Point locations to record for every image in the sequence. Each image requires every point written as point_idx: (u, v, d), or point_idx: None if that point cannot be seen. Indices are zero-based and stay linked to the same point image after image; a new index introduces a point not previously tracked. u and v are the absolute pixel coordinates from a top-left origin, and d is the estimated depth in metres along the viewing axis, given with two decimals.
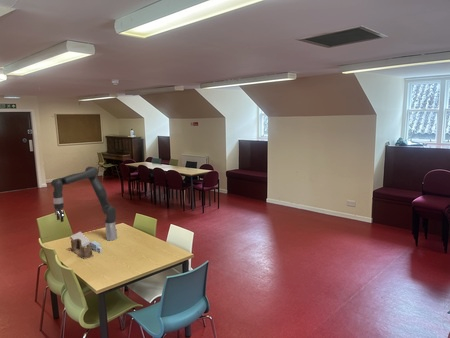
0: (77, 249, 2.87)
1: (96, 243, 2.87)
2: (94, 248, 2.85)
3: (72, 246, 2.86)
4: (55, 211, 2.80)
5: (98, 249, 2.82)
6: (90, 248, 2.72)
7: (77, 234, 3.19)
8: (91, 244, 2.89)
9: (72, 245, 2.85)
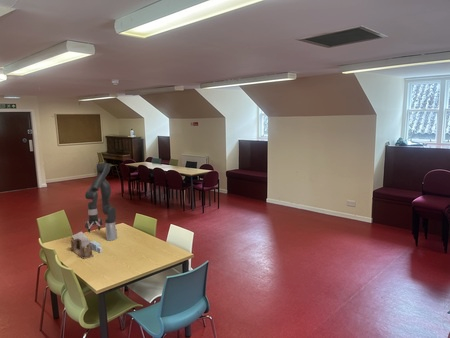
0: (77, 249, 2.87)
1: (96, 243, 2.87)
2: (94, 248, 2.85)
3: (72, 246, 2.86)
4: (87, 225, 2.80)
5: (98, 249, 2.82)
6: (90, 248, 2.72)
7: (78, 234, 3.19)
8: (91, 244, 2.89)
9: (72, 245, 2.85)
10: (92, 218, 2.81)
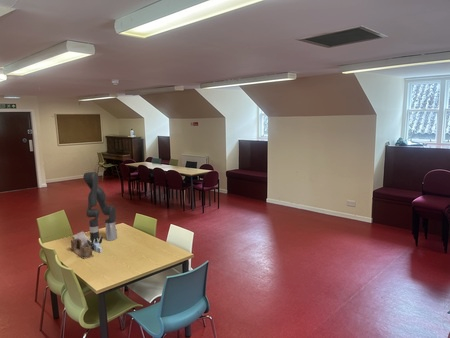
0: (77, 249, 2.87)
1: (96, 243, 2.87)
2: (94, 248, 2.85)
3: (72, 246, 2.86)
4: (90, 243, 2.83)
5: (98, 249, 2.82)
6: (90, 248, 2.72)
7: (79, 234, 3.20)
8: None
9: (72, 245, 2.85)
10: (93, 235, 2.83)
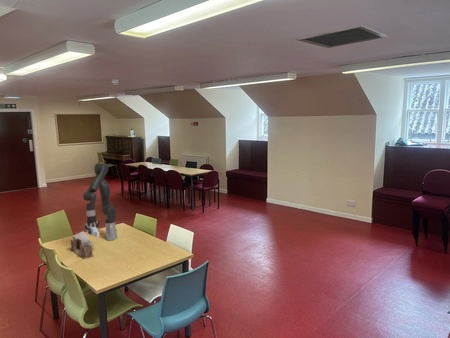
0: (77, 249, 2.87)
1: (93, 227, 2.83)
2: (91, 232, 2.82)
3: (72, 246, 2.86)
4: (86, 227, 2.80)
5: (95, 233, 2.79)
6: (90, 248, 2.72)
7: (80, 234, 3.20)
8: None
9: (72, 245, 2.85)
10: (90, 219, 2.80)
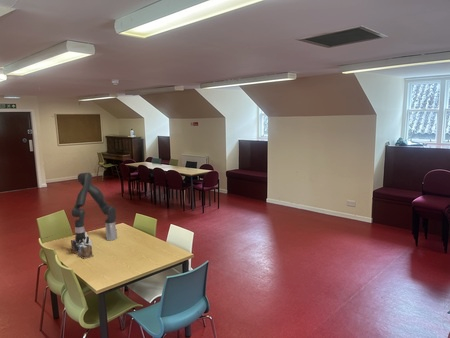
0: None
1: (82, 245, 2.79)
2: (80, 251, 2.77)
3: (72, 246, 2.86)
4: (74, 243, 2.74)
5: None
6: (90, 248, 2.72)
7: None
8: None
9: (72, 245, 2.85)
10: (79, 236, 2.75)
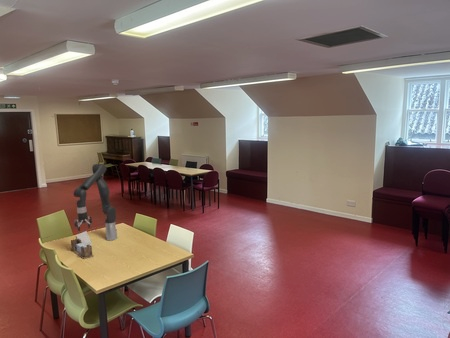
0: None
1: (82, 245, 2.79)
2: (80, 251, 2.77)
3: (72, 246, 2.86)
4: (76, 223, 2.76)
5: None
6: (90, 248, 2.72)
7: (82, 233, 3.21)
8: (77, 246, 2.81)
9: (72, 245, 2.85)
10: (81, 216, 2.77)
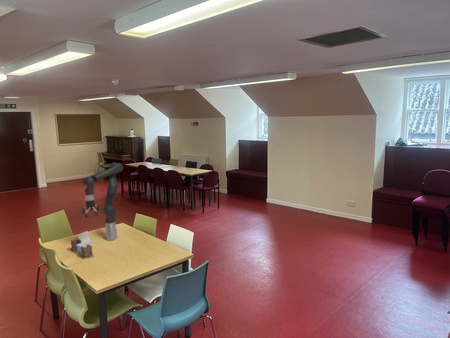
0: None
1: (82, 245, 2.79)
2: (80, 251, 2.77)
3: (72, 246, 2.86)
4: (84, 210, 2.86)
5: None
6: (90, 248, 2.72)
7: (83, 233, 3.21)
8: (77, 246, 2.81)
9: (72, 245, 2.85)
10: (89, 203, 2.87)
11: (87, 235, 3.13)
